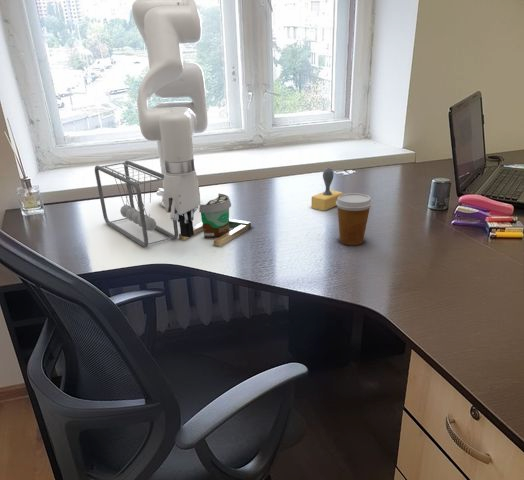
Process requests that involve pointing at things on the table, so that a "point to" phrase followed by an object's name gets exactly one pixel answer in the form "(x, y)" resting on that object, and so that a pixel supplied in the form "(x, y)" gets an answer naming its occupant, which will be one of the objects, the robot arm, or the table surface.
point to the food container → (215, 216)
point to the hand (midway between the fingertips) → (187, 235)
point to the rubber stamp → (326, 193)
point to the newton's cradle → (131, 212)
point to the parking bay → (238, 229)
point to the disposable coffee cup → (353, 217)
